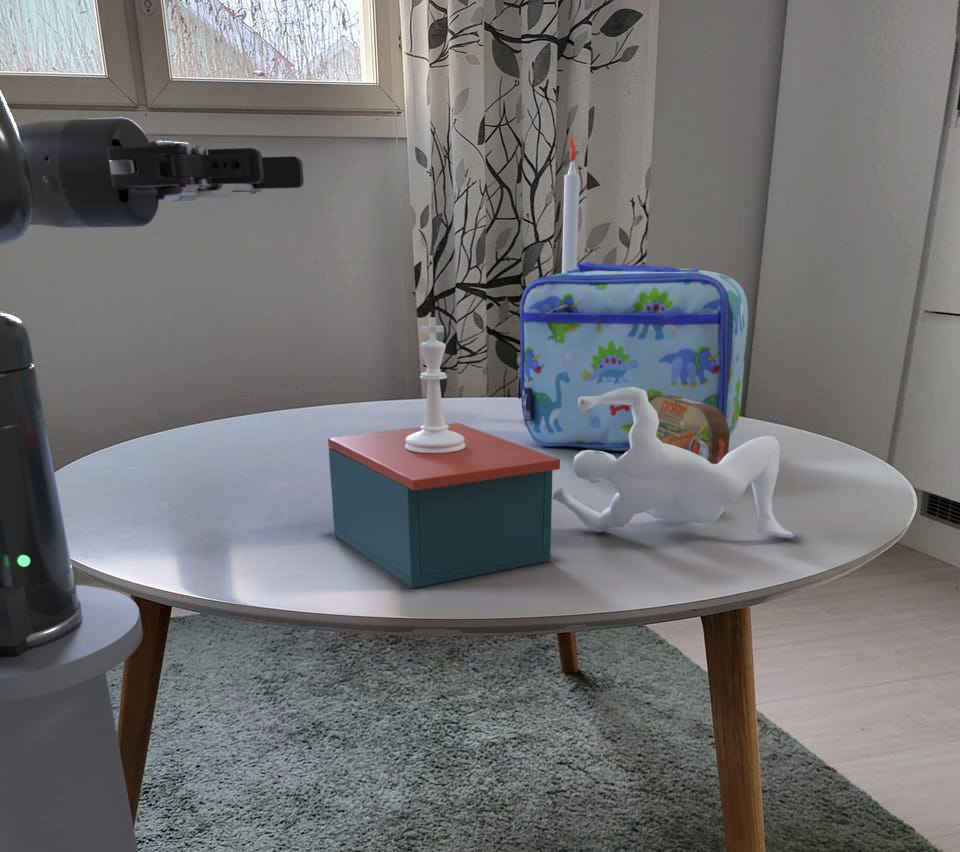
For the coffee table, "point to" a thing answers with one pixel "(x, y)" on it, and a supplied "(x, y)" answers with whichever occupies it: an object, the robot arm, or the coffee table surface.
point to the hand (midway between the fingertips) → (282, 169)
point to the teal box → (441, 523)
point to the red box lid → (442, 458)
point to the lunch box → (626, 347)
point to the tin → (692, 426)
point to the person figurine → (672, 474)
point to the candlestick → (570, 214)
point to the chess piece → (434, 402)
